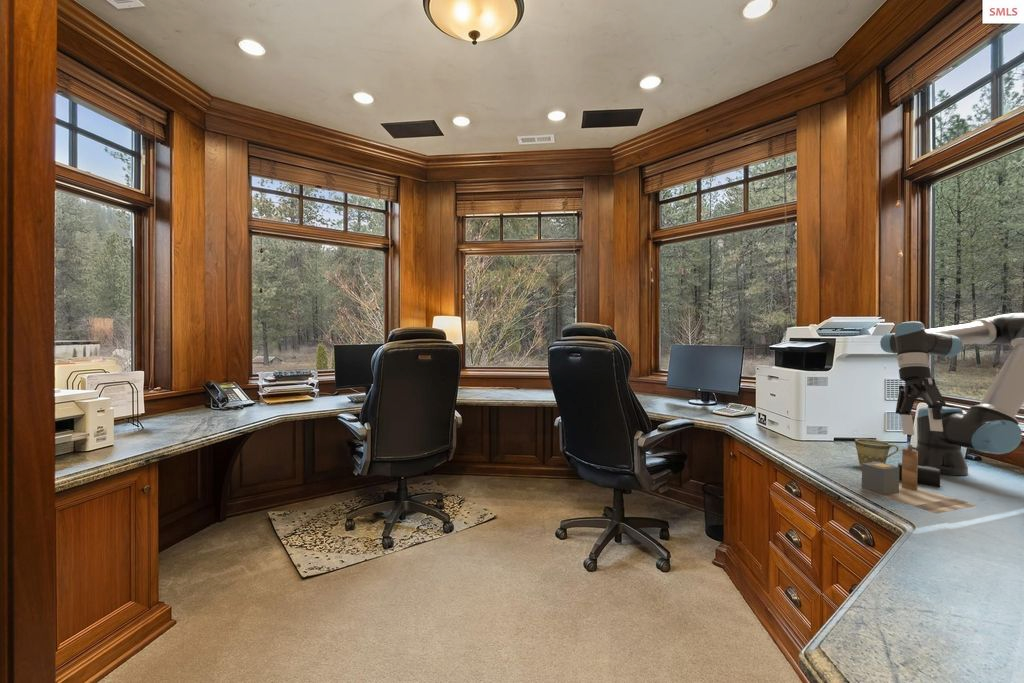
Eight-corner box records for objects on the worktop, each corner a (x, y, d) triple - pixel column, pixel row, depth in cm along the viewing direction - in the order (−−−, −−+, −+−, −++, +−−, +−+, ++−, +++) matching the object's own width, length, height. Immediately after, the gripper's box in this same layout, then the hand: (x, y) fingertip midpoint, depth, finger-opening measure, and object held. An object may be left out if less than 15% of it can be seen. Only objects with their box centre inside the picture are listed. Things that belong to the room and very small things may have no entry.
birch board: (898, 486, 139) (898, 482, 139) (976, 509, 121) (976, 504, 121) (860, 492, 133) (860, 488, 133) (936, 517, 115) (936, 512, 115)
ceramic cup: (862, 471, 155) (862, 444, 154) (849, 463, 164) (849, 437, 164) (905, 474, 151) (906, 446, 151) (890, 466, 160) (890, 440, 160)
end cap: (897, 484, 141) (898, 464, 141) (898, 479, 146) (898, 459, 146) (940, 492, 134) (940, 471, 134) (939, 486, 139) (939, 466, 139)
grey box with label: (876, 486, 136) (877, 460, 135) (898, 493, 130) (899, 466, 130) (861, 488, 133) (862, 462, 133) (883, 495, 128) (883, 468, 128)
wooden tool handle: (906, 485, 137) (907, 443, 136) (919, 489, 133) (920, 446, 133) (898, 486, 136) (899, 444, 135) (912, 490, 132) (913, 447, 132)
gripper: (879, 374, 152) (885, 434, 146) (925, 357, 129) (934, 427, 123) (904, 376, 150) (911, 437, 144) (955, 359, 127) (966, 430, 121)
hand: (922, 433), depth 134 cm, fingers open, 13 cm apart
